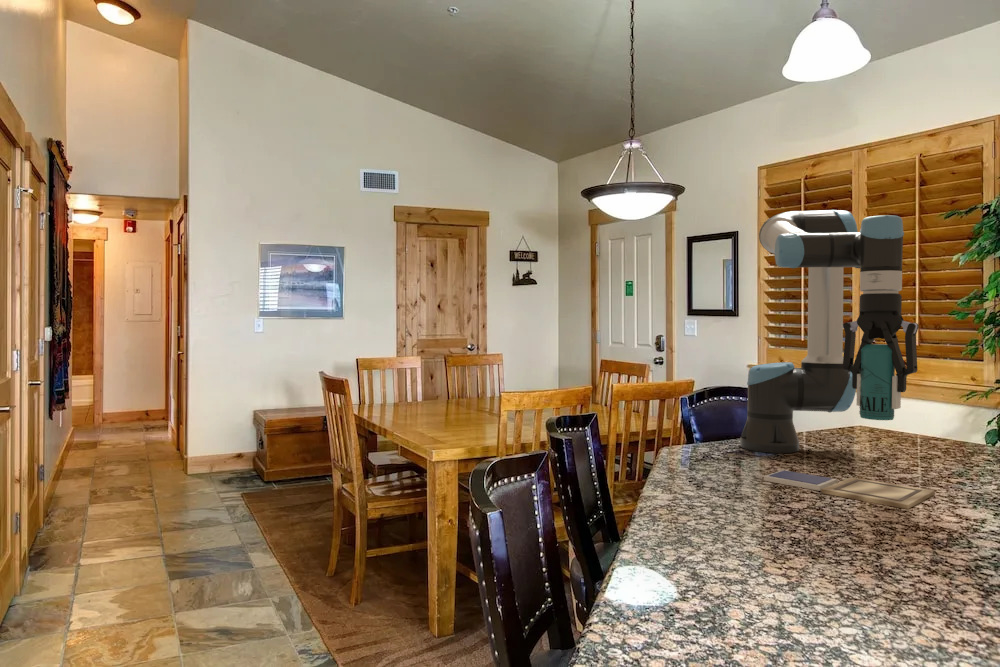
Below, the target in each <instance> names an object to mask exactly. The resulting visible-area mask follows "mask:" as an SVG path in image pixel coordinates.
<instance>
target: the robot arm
mask: <svg viewBox="0 0 1000 667" xmlns="http://www.w3.org/2000/svg"><path fill="white" fill-rule="evenodd" d="M856 222H857V221H856V219H855V216H854V214H852V213H851V212H850V211H848V210H841V209H840V210H839V209H838V210H837V209H825V210H823V209H822V210H820V209H819V210H790V211H785V212H781V213H777V214H776V215H773V216H772V217H770V218H768V219H767V220H765V221H764V222H763V224H762V225H761V227H760V229H759V233H758V241H759V243H760V245H761V247H763V249H764V250H766V251H767V252H769V253H771V254H774V260H775V265H776V266H778V267H779V268H790V269H796V268H798V269H799V268H802V269H803V268H807V269H808V276H807V277H808V278H807V279H808V292H807V297H808V298H807V355H806V356H805V357H804V358H803V359H802V360H801V362H800V365H801V367H795V365H794V363H793V362H789V361H788V362H785V361H784V362H771V363H764V364H758V365H753V366H752V367H750V369H749V370H748V375H747V382H746V385H747V410H746V411H747V413H746V414H747V416H746V417H747V418H746V421H745V423H744V424H745V425H744V427H743V430H742V433H741V436H740V437H739V438H740V440H739V441H740V442H739V445H740V448H742V449H744V450H749V451H754V452H761V453H771V454H772V453H773V454H776V453H777V454H787V453H788V454H789V453H796V452H799V451H800V441H799V440H800V439H799V437H798V434H797V431H796V427H795V425H794V419H793V418H794V417H793V416H794V411H795V412H796V411H797V412H801V411H802V412H824V413H841V412H846V411H848V410H849V409H850V408H851V406H852V404H853V402H854V400H855V396H856V406H858V407H859V406H860V405H859V404H860V403H859V401H860V390H861V371H860V367H861V362H860V361H861V349H862V348H863V347H864V346H865V345H867V344H874V341H875V340H877V338H868V335H869V330H871V329H872V328H881V330H882V331H883V335H884V338H880V339H881V340H882V339H883V340H884V341H885V344H887V345H888V347H889V348H890V349H891V350H892V361H893V364H894V367H895V376H892V409H894V410H898V409H901V407H902V406H901V405H902V404H901V403H902V402H901V400H902V398H901V397H902V393H905V392H906V391H907V377H908V376H909V375H911V374H915V373H917V372H918V355H917V354H918V353H917V352H918V351H917V332H918V330H919V323H916V322H909V321H906V320H904V317H903V316H902V298H903V297H902V295H901V294H902V293H899V292H900V291H902V290H903V256H904V255H903V249H904V236H905V231H904V223H903V218H902V217H901V216H898V215H891V214H890V215H889V214H887V215H886V214H885V215H883V214H882V215H873V216H872V215H871V216H867V217H864V218H863V219H862V220H861V221H860V222H861V225H860V229H859V231H858V225H857V223H856ZM844 268H855V269H860V270H859V291H860V292H863V293H862V294H860V295H859V304H858V305H859V308H858V310H859V311H858V312H859V315H858V317H857V320H854V321H851V322H849V321H848V322H844ZM858 327H859V328H860V330H861V331H862V332H863V334H862V337H861V342H860V345H859V347H858V350H857V354H856V356H855V351H856V350H855V349H856V338H857V334H856V332H857V331H858ZM901 328H902V331H903V332H904V333H905V335H904V343H905V345H904V346H905V360H904V357H903V354H902V351H901V347H900V345H899V343H898V342H899V340H898V336H897V333H898V331H899V330H900V329H901ZM843 331H844V332H843ZM844 333H845V335H844ZM843 337H844V338H843ZM843 341H844V342H843ZM843 343H844V346H843ZM905 362H906V363H905Z"/></svg>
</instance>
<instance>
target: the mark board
mask: <svg viewBox="0 0 1000 667" xmlns="http://www.w3.org/2000/svg"><path fill="white" fill-rule="evenodd" d="M820 492H821V494H824V495H830V496H831V495H832V496H835V497H840V498H841V497H842V498H846V499H852V500H855V501H856V500H857V501H861V502H862V501H863V502H867V503H873V504H878V505H885V506H889V507H894V508H900V509H905V510H909V509H911V508H912V507H915V506H916V505H918V504H920V503H922V502H924V501H925V500H927V499H928V498H931V497H933V496H934V495H935V490H933V489H928V488H927V489H926V488H919V487H913V486H908V485H902V484H896V483H889V482H883V481H878V480H872V479H865V478H860V477H859V478H858V477H854V476H851V477H848V478H846V479H844V480H840V481H837V483H836V484H833V485H831V486H828V487H825V488H823V489H821V490H820Z"/></svg>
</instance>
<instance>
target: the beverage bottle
mask: <svg viewBox="0 0 1000 667" xmlns="http://www.w3.org/2000/svg"><path fill="white" fill-rule="evenodd" d="M868 338H876V339H881V338H884V335H883V331H882V330H881V328H872V329H871V330H869V335H868ZM860 362H861V367H860V371H861V390H860V401H859V403H860V404H859V405H860V406H858V407H859V410H858V414H859V417H860V418H861V419H865V420H872V421H893V420H894V419H895V409H892V376H896V370H895V367H894V364H893V361H892V350H891V349H890V348H889V347H888V345H887V343H885V344H884V343H883V344H881V343H872V344H867V345H865V346H864V347H863V348H862V349H861V361H860Z"/></svg>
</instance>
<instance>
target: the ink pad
mask: <svg viewBox="0 0 1000 667" xmlns="http://www.w3.org/2000/svg"><path fill="white" fill-rule="evenodd" d="M763 481H764V482H769V483H775V484H781V485H787V486H790V487H791V486H793V487H796V488H801V487H802V489H808V490H811V491H820V492H821V489H823V488H825V487H828V486H831V485H833V484H836V483H838V479H837V478H832V477H826V476H821V475H815V474H809V473H801V472H797V471H790V470H786V469H785V470H783V469H782V470H779V471H776V472H773V473H770V474H766V475H764V476H763Z"/></svg>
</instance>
